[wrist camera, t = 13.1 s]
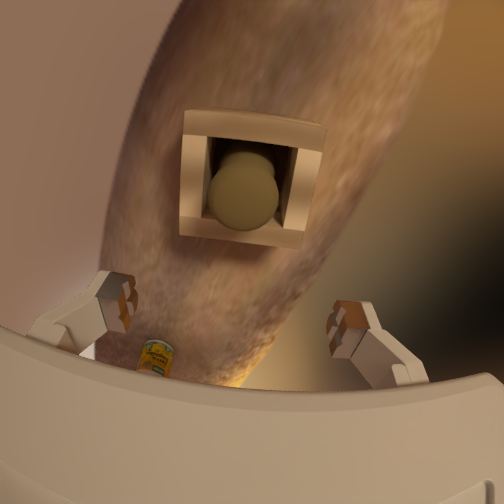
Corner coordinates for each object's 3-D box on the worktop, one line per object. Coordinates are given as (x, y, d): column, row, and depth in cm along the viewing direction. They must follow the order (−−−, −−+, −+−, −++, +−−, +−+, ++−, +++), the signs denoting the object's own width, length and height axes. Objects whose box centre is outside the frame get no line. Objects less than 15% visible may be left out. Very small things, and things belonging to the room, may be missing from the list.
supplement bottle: (143, 351, 46) (129, 395, 38) (146, 334, 43) (129, 381, 35) (172, 360, 47) (161, 406, 39) (177, 344, 44) (165, 392, 36)
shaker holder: (199, 106, 25) (184, 110, 20) (313, 121, 26) (326, 129, 21) (192, 208, 31) (179, 234, 26) (293, 221, 32) (299, 249, 27)
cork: (223, 195, 30) (207, 248, 21) (214, 141, 27) (189, 170, 18) (279, 188, 30) (289, 240, 20) (273, 133, 26) (282, 157, 17)
